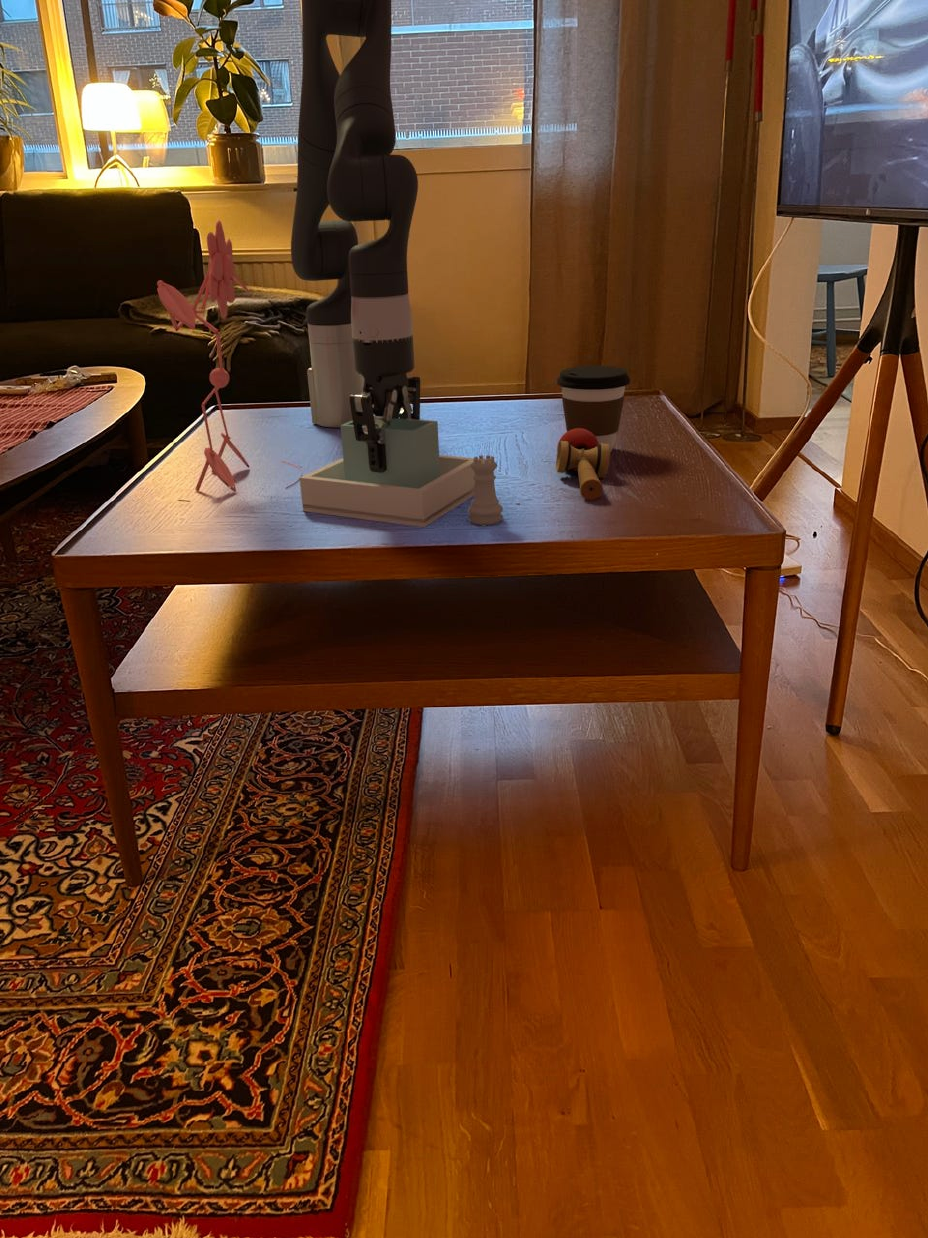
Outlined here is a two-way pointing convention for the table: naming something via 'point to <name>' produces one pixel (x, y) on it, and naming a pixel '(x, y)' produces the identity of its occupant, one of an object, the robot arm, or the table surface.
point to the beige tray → (388, 494)
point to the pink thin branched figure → (181, 309)
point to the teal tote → (395, 454)
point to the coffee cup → (594, 399)
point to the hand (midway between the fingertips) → (391, 464)
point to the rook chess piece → (484, 493)
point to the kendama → (584, 460)
